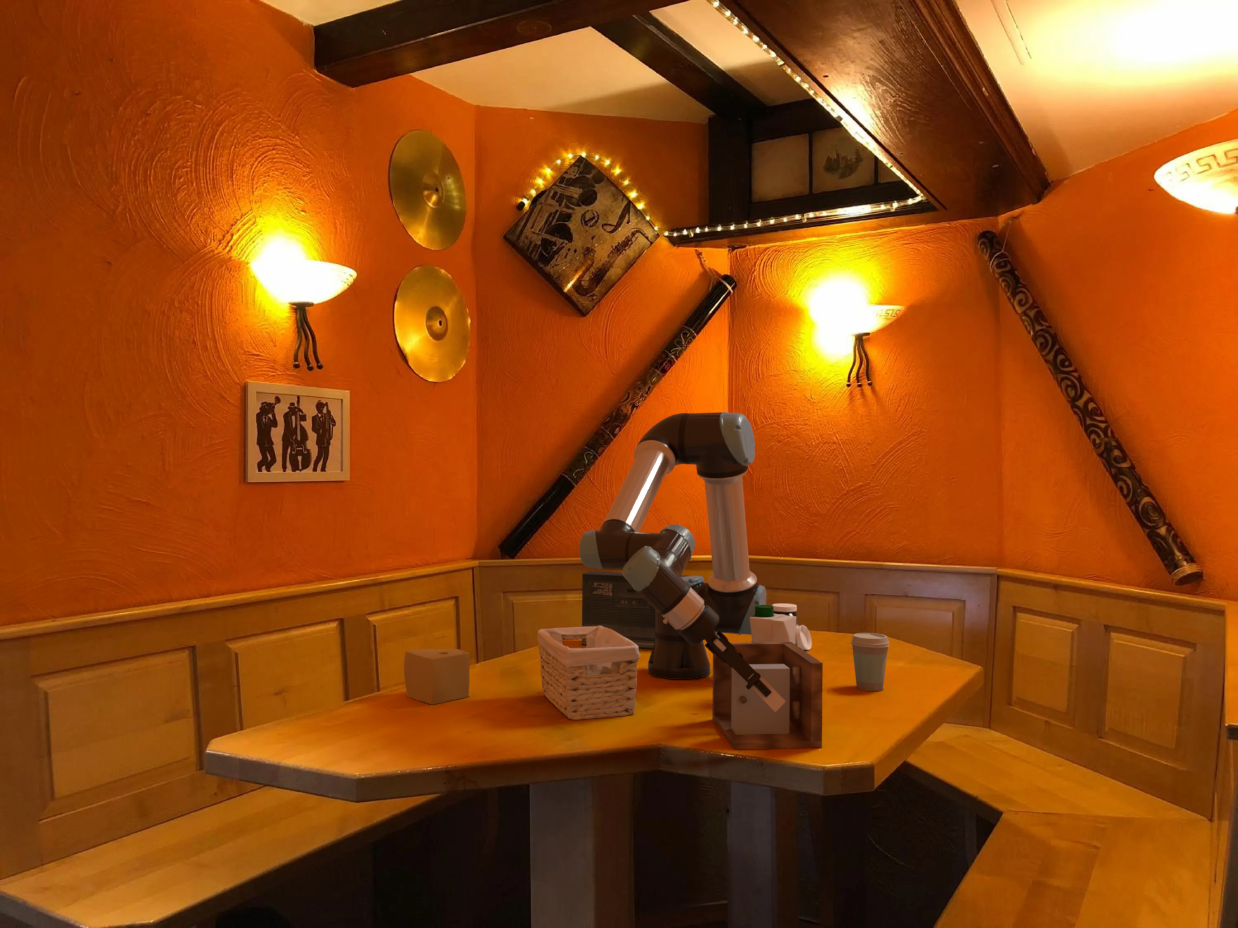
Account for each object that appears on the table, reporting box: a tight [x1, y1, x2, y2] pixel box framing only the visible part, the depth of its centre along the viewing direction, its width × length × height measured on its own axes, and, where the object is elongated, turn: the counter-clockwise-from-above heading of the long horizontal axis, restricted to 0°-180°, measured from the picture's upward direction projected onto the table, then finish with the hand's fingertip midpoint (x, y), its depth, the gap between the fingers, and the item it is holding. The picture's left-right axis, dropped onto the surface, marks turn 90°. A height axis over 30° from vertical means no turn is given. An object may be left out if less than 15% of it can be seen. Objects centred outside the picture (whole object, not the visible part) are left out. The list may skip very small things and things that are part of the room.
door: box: [731, 664, 790, 735], centre depth 177 cm, size 10×5×12 cm, turn 96°
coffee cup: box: [850, 632, 890, 692], centre depth 217 cm, size 9×8×12 cm
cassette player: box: [581, 570, 689, 651], centre depth 264 cm, size 29×7×20 cm, turn 73°
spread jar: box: [771, 603, 813, 651], centre depth 264 cm, size 12×11×12 cm
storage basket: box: [536, 626, 641, 721], centre depth 200 cm, size 24×16×15 cm
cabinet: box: [711, 642, 824, 751], centre depth 180 cm, size 16×20×15 cm
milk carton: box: [750, 604, 796, 644], centre depth 206 cm, size 9×9×20 cm
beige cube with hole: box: [403, 648, 470, 706], centre depth 205 cm, size 10×11×10 cm
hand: (770, 697), depth 177 cm, fingers open, 13 cm apart
